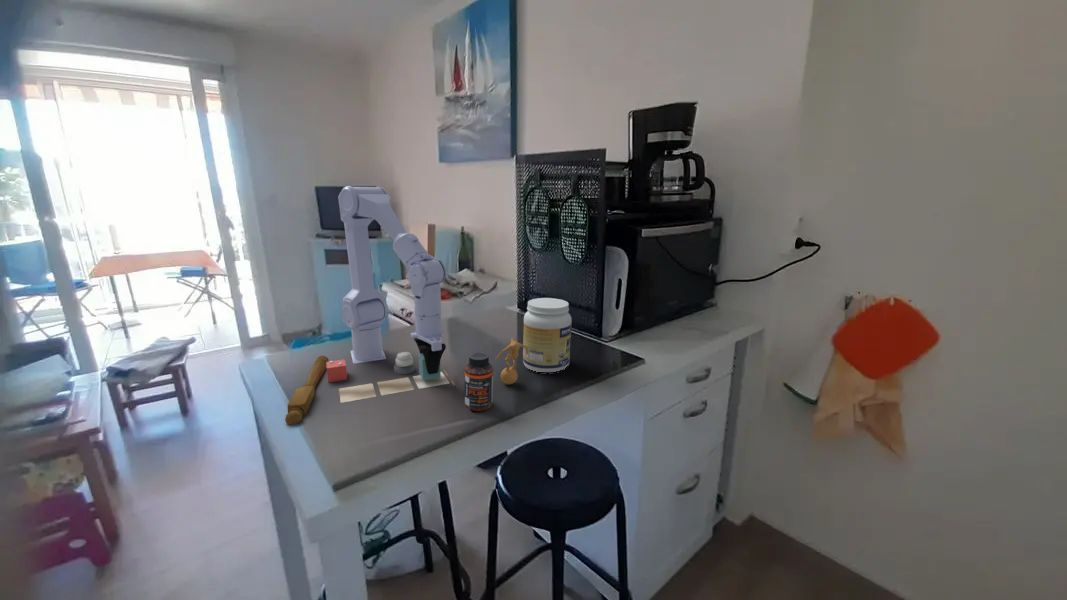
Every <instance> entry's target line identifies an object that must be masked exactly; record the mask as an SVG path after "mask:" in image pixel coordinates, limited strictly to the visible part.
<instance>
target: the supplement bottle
mask: <svg viewBox="0 0 1067 600" xmlns="http://www.w3.org/2000/svg"><path fill="white" fill-rule="evenodd" d="M489 358H490V356H489V354H487V353H486V352H481V351H479V352H473V353H471V354H470V355H469V357H468V363H467V364H466V365H465V367H464V369H463V371H464V384H463V385H464V391H463V392H464V396H463V397H464V399H463V400H464V406H465V407H466V408H468V409H469V410H470V411H472V412H483V411H487V410H489V409H490V408H492V406H493V403H494V402H493V401H494V367H493V365H492V364H491V363H490V362H489V361H490V360H489Z"/></svg>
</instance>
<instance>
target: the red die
mask: <svg viewBox="0 0 1067 600" xmlns="http://www.w3.org/2000/svg"><path fill="white" fill-rule="evenodd" d="M326 365H327V366H326V374H327V382H328V383H332V382H340V381H345V380H348V372H347V364H346V360H345V359H338V360H337V359H336V360H330V361H329V362H326Z"/></svg>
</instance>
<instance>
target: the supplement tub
mask: <svg viewBox="0 0 1067 600" xmlns="http://www.w3.org/2000/svg"><path fill="white" fill-rule="evenodd" d="M569 304H570V303H569V302H568V301H566V300H564V299H559V298H553V297H540V298H539V297H537V298H532V299H530V300H528V301H527V307H526V310H527V311H526V312H525V314H524V316H523V337H522V338H523V339H522V340H523V343H522V344H523V345H526V346H527V347H528V354H526V348H523V347H522V362H523V365H524V366H525V368H527V369H528V370H529V369H530V371H531V370H533V371H532V372H534V371H536V372H535V373H537V372H556V371H560V370H563V369H564V370H566V369H567V368H568V367H569V365H570V360H571V359H570V356H571V337H572V335H571V334H572V319H573V318H572V316H571V314H570V313H569V311H570V308H569V307H570V305H569ZM567 366H568V367H567ZM566 367H567V368H566ZM565 368H566V369H565ZM564 370H563V371H564Z"/></svg>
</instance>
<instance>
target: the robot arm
mask: <svg viewBox="0 0 1067 600" xmlns="http://www.w3.org/2000/svg"><path fill="white" fill-rule="evenodd" d="M337 198H338V207H339V214H340V221H342V222H343V225H344V232H345V233H344V234H345V243H346V248H347V257H348V266H349V274H350V284H351V289H350V291H349V292H348V293H347V294H346V295H345V296H344V297H343V298H342V309H341V319H342V320H343V323H344V324H345V325H346V327H348V328H350V332H351V342H352V344H351V345H352V350H350V355H351V360H352V364H361V363H368V362H374V361H380V360H386V359H387V357H386V355H385V352H384V350H383V337H382V325H383V324H384V321H385V319H386V318H387V315H388V307H387V304H386V302H385V299H384V294H383V293H382V292H381V291H380V290H378V289H376V288H375V283H374V276H373V264H372V256H371V246H370V239H369V229H368V227H369V225H370V224H371V223H372V221H374V220H375V221H376V222H377V223H378V225H380V227H381V228H382V230H384V231H385V233H387V235H388V237H389V238H390V239H391V240H392V241H393V243H392V249H393V251H394V253H395V254H396V256H397V257H398V259H399V260H400V261H401V263H402V264H403V266H404V267H405V268H406V269H407V272H406V277H407V280H408V283H409V284H410V288H411V293H412V295H413V296H414V297H413V299H414V321H415V331H414V332H410V337H411V338H412V339H413V341H415V343H416V346H417V348H418V351H419V354H420V353H423V356H424V359H425V363H426V368H427V372H428V374H435V373H438V369H439V364H440V365H441V359H442V356H443V354H444V352H445V350H446V348H447V345H446V344H445V343H443V342H442V338H443V334H444V333H443V332H444V331H443V330H442V329H443V328H442V324H443V323H442V295H441V294H442V293H441V292H442V291H441V284H442V283H443V282H444V281H445V280H446V277H447V276H446V273H447V272H446V267H445V265H444V264H443V261H442V260H441V259H440V258H437V257H434V256H433V255H430V254H429V253H428V251H427V250H426V248H425V247H424V246H423V244H422V243H421V242H420V240H419V238H418V237H417V235H415V234H414V233H411V232H409V233H408V232H407V231H406V229H405V227H404V226H403V224H402V223H401V221H400V219H399V218H398V216H397V214H396V213H395V212H394V209H393V208H392V197H391V196H390V195H389V194H388V191H387V190H386V189H385V188H384V187H383V186H376V187H375V186H373V187H372V186H350V185H346V186H344V187H343V188H342V189H341V191H340V192H339V195H338V196H337Z"/></svg>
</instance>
